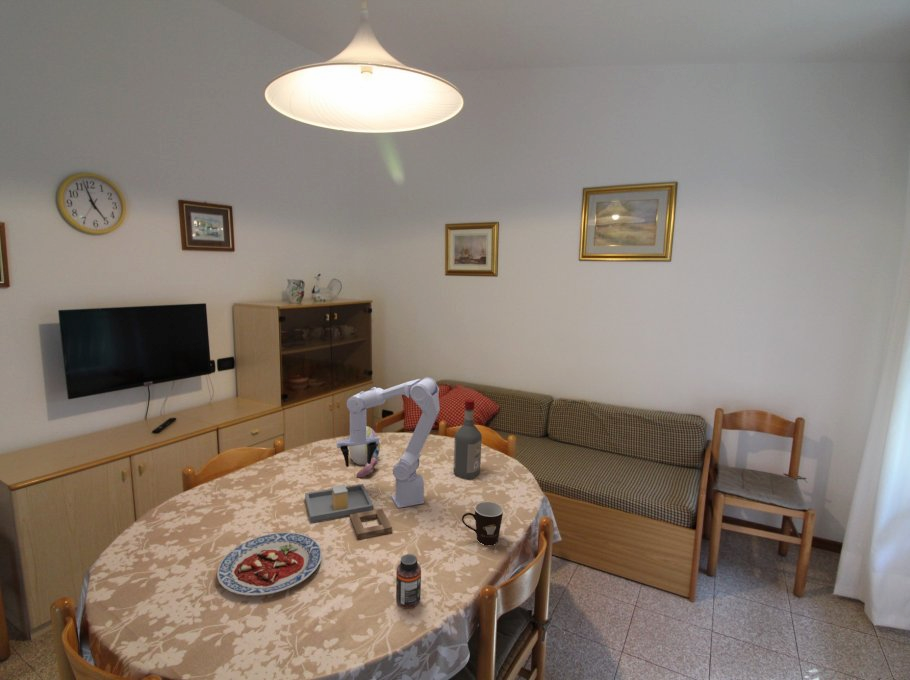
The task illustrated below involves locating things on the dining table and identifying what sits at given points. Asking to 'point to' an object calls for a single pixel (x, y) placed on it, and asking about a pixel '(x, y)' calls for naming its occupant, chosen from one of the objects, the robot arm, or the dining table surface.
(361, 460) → the decorative egg
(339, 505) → the block
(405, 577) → the supplement bottle
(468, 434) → the liquor
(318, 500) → the parts tray
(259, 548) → the ceramic plate
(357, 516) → the socket
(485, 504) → the coffee mug
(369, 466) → the video game controller
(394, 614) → the dining table surface
